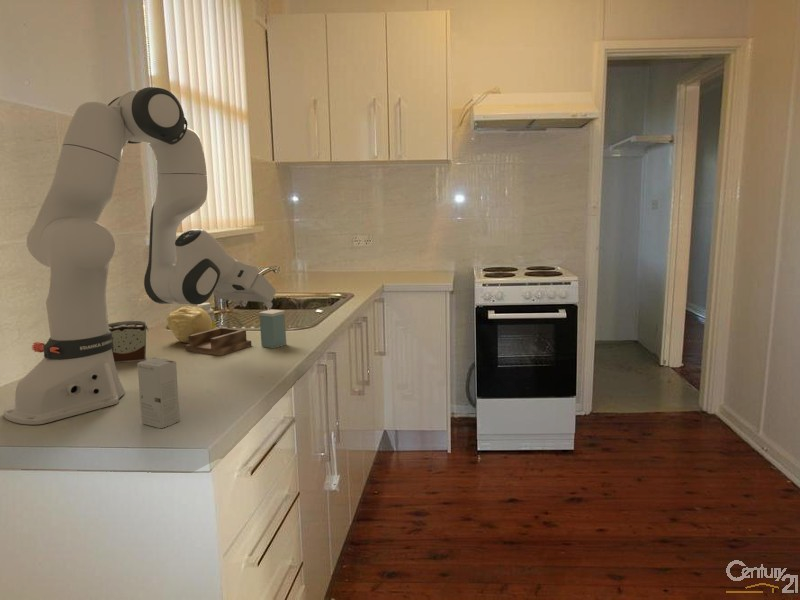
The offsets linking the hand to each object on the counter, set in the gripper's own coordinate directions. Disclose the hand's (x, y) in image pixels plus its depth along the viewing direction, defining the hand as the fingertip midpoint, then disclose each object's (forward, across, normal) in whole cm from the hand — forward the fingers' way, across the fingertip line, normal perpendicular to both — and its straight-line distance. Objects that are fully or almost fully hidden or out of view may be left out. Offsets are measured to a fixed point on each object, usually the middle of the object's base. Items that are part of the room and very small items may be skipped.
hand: (257, 305), depth 160 cm
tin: (+14, -1, -5) cm, 14 cm away
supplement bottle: (+14, -30, -4) cm, 33 cm away
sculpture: (+9, -28, -9) cm, 31 cm away
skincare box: (-26, +21, -44) cm, 55 cm away
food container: (-7, -28, -24) cm, 38 cm away
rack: (+7, -14, -11) cm, 19 cm away
